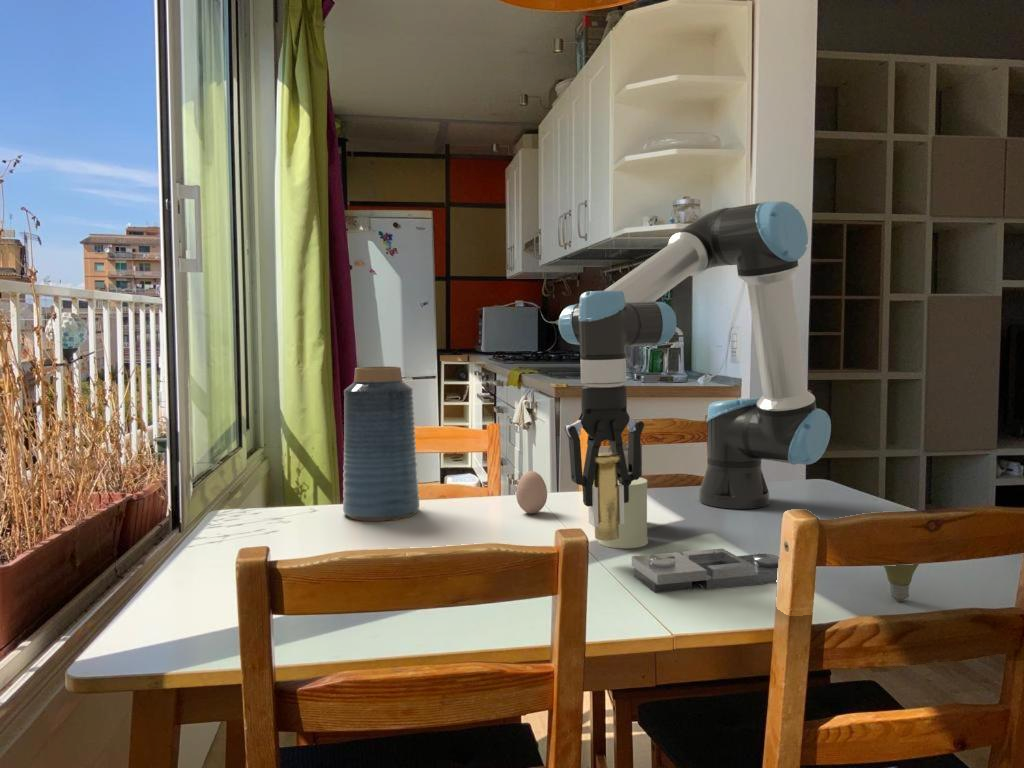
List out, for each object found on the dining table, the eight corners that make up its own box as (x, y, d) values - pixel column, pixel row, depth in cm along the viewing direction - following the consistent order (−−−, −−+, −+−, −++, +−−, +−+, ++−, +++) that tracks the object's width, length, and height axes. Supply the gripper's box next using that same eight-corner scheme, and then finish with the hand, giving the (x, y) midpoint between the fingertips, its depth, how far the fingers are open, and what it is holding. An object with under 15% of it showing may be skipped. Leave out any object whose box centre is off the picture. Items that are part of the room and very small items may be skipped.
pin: (615, 531, 140) (614, 451, 139) (627, 539, 135) (625, 456, 134) (587, 534, 139) (585, 453, 138) (597, 542, 134) (595, 458, 133)
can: (588, 539, 153) (588, 475, 152) (631, 533, 156) (630, 471, 156) (613, 551, 144) (613, 484, 144) (657, 545, 148) (657, 479, 147)
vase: (327, 518, 172) (323, 369, 170) (369, 502, 187) (365, 365, 185) (395, 524, 166) (391, 370, 164) (432, 507, 181) (429, 365, 179)
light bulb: (870, 594, 119) (871, 527, 119) (906, 593, 120) (907, 526, 119) (890, 608, 114) (892, 537, 113) (929, 606, 114) (930, 536, 114)
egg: (531, 518, 170) (530, 475, 169) (510, 513, 174) (509, 471, 174) (553, 513, 174) (553, 471, 173) (532, 508, 179) (532, 467, 178)
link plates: (765, 562, 136) (766, 538, 136) (800, 580, 127) (801, 554, 126) (631, 574, 131) (631, 550, 130) (657, 594, 121) (657, 568, 121)
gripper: (642, 380, 140) (644, 513, 142) (547, 385, 136) (551, 522, 138) (660, 383, 133) (662, 524, 135) (561, 389, 129) (565, 533, 131)
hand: (606, 523), depth 137 cm, fingers closed on pin, 4 cm apart
